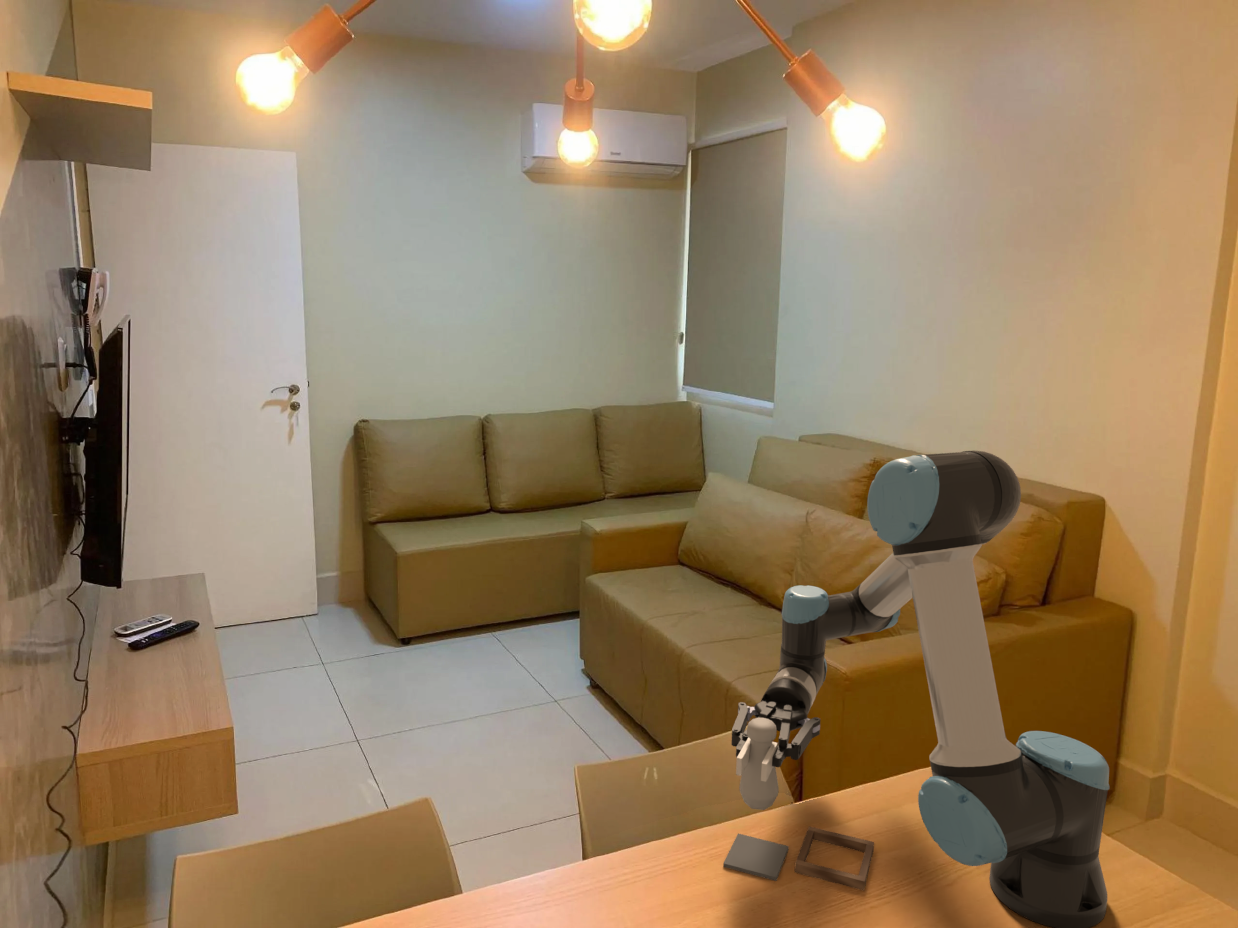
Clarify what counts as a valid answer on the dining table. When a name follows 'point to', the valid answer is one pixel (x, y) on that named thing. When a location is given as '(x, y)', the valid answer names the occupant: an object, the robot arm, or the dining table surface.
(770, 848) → the charcoal coaster
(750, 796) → the salt shaker
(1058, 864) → the robot arm
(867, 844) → the walnut collar
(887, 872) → the dining table surface
